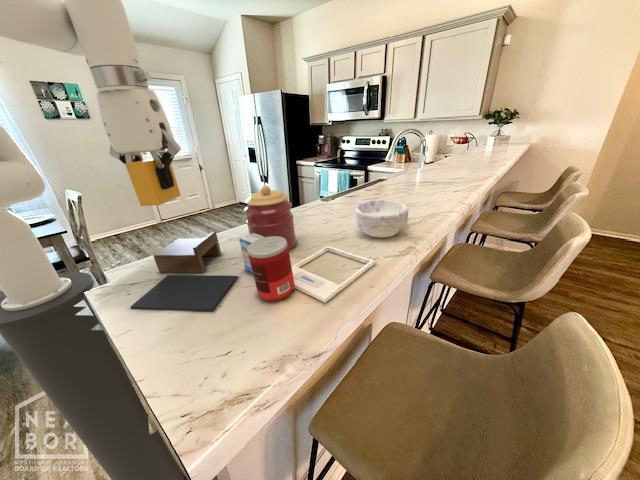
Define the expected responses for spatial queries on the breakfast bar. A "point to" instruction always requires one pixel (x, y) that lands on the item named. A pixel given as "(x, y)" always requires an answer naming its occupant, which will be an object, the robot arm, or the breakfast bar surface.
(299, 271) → the photo frame
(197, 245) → the shelf stand
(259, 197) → the kitchen canister
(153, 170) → the tea packet
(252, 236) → the medicine box
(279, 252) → the canned food
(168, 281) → the counter mat
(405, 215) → the white purple bowl
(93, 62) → the robot arm
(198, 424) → the breakfast bar surface
